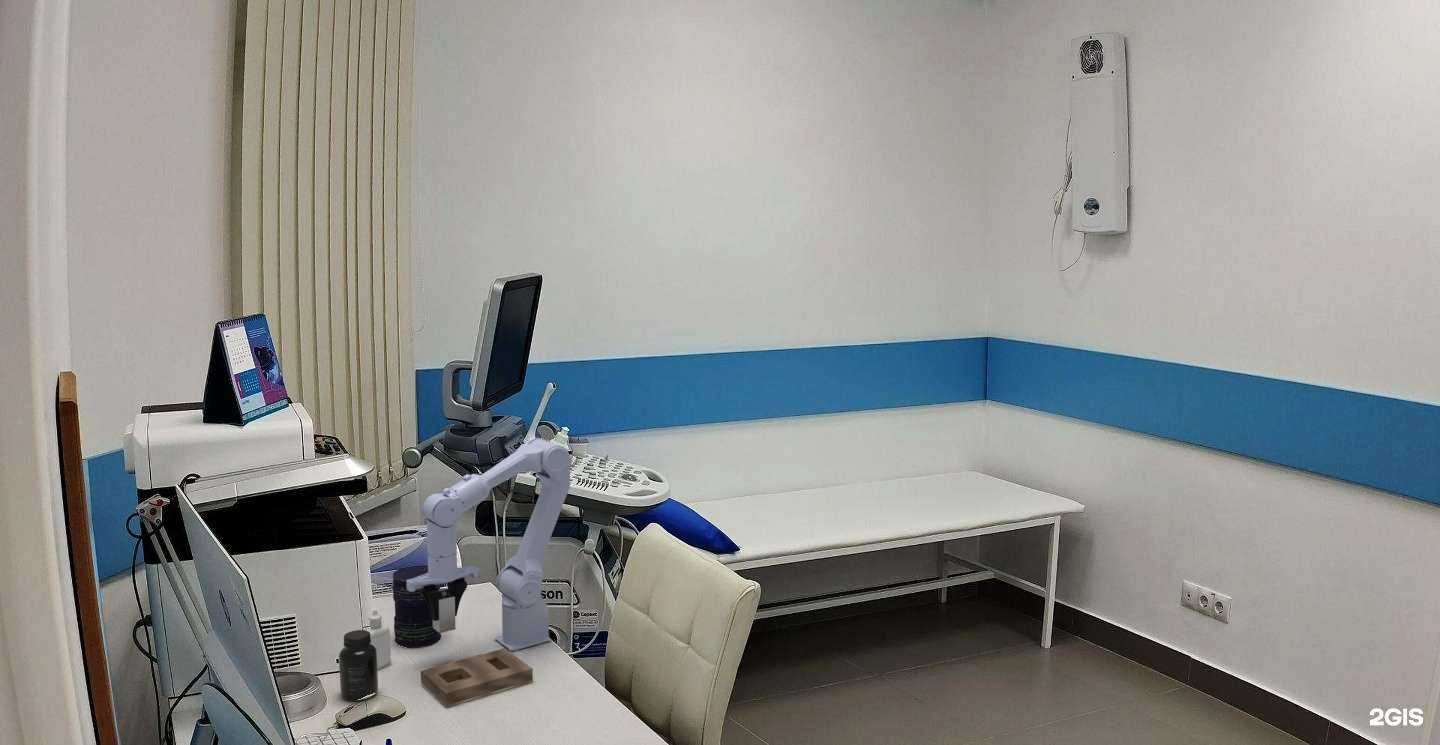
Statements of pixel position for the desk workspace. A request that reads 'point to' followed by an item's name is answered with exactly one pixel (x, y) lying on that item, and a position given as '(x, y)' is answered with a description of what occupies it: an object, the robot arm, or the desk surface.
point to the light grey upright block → (445, 612)
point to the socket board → (476, 677)
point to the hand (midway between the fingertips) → (443, 617)
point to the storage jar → (412, 611)
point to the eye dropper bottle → (380, 640)
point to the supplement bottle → (358, 666)
